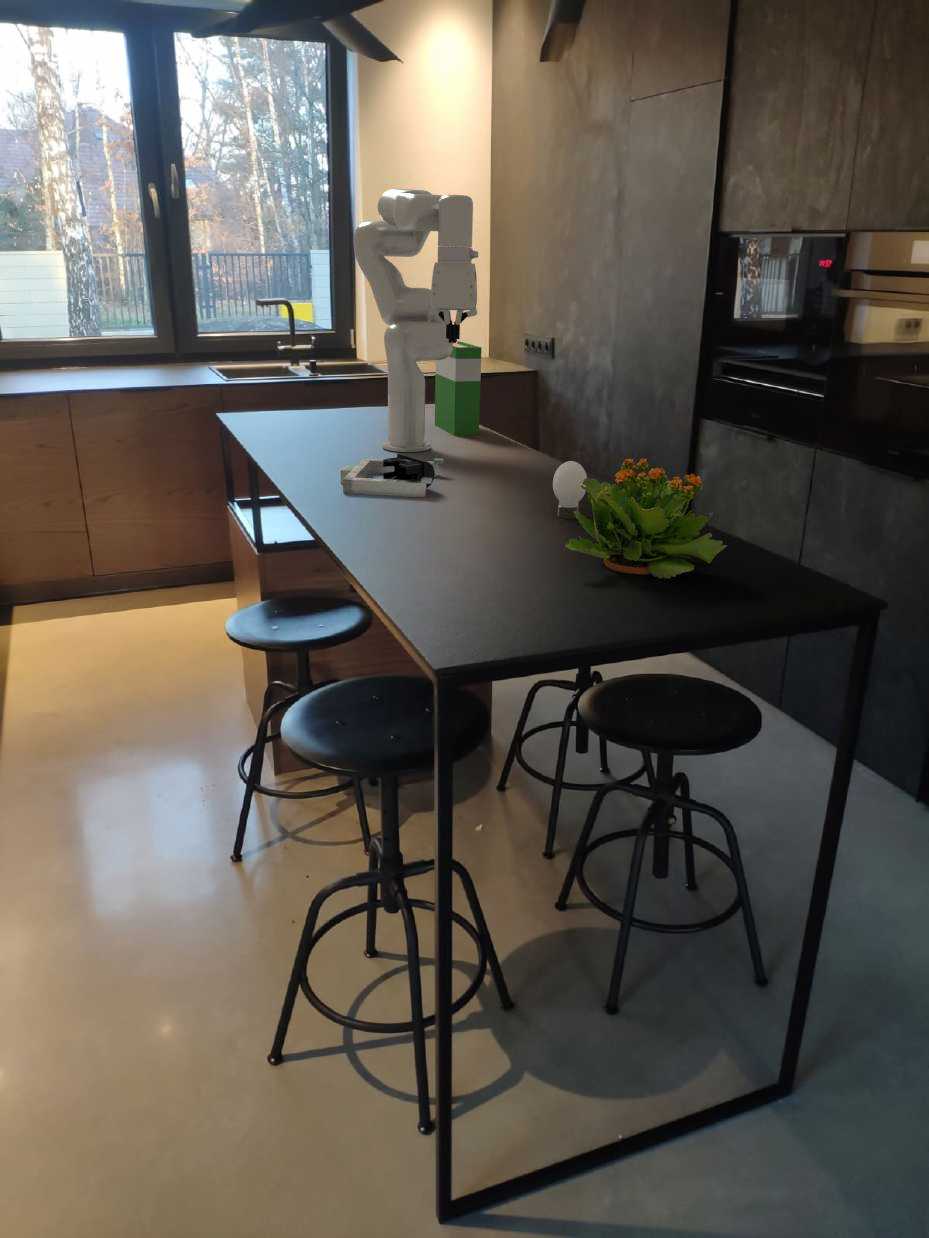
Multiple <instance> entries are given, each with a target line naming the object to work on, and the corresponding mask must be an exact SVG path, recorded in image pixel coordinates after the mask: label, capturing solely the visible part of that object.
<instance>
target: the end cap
mask: <svg viewBox="0 0 929 1238" xmlns="http://www.w3.org/2000/svg"><path fill="white" fill-rule="evenodd" d="M383 459H384V460H383V467H389V466H394V470H393V471H391V472H384V473H383V474H382V479H392V480H411V481H421V479H422V477H426V478H432V482H431V484H427V483H426V490H427V489H428V488H429V487H430V486H432V484H433V482H434V480H435V477H436V476H435V471H434V468H433V466H432V464H430V463H429V462H427V461H428V460H423V459H420V458H417V457H413V456H411V455H410V456H409V455H406V454H403V453H397V454H396V457H388V458H383Z"/></svg>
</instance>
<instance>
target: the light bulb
mask: <svg viewBox="0 0 929 1238" xmlns="http://www.w3.org/2000/svg"><path fill="white" fill-rule="evenodd" d="M586 478H588V476H587V473H586V470H585V469H584V467H583V466H582V465H581V464H580V463H579V462H576V461H574V460H568V461H565V462H563V463H562V464H560V465H559V466H558V467H557V469H556V471H555V472H554V475H553V478H552V479H553V480H552V489H553V492H554V496H555V497H556V499H557V500H558V506H557V517H558V518H563V519H577V518H576V515H575V514H574V512H573V511H577V512H579V502H580V501H582V499H583V498H584V497H585V496H584V495H585V494H586V491H585V490H584V489H583V488H582V487H581V485H583V486H584V487H585V486H586V485H584V484H583V481H584V479H586Z"/></svg>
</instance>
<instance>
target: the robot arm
mask: <svg viewBox="0 0 929 1238" xmlns="http://www.w3.org/2000/svg"><path fill="white" fill-rule="evenodd" d="M377 212H378V214H379V216H380V218H381V219H382V220H369V221H365V222H362V223H360V224H358V226H357V227H356V229H355V230H354V232H353V250H354V255H355V259H356V261H357V264H358V266H359V268H360V270H361V272H362V273H363V275H364V277H365V278H366V280H367V282H368V284H369V286H370V288H371V292H372V294H373V295H372V296H373V298H374V301H375V303H376V307H377V310H378V313H379V316H380V317H381V319H382V321H383V322H384V324H386V325H388V326H387V328H386V329H385V331H384V335H383V343H384V350H385V351H384V352H385V356H386V364H387V365H386V366H387V410H388V411H387V418H388V419H387V421H388V422H387V428H388V429H387V435H388V436H387V440H385V441H383V442H382V443H381V447H382V449H383V450H387V451H391V452H396V453H397V452H398V453H400V452H401V453H418V452H419V453H421V452H425V451H429V450H430V449H431V442H429V441H426V440H425V436H426V435H425V431H426V427H425V426H426V425H425V424H426V423H425V422H426V378H425V376H424V374H423V372H422V370H421V368H420V367H419V365H418V364H417V363H418V362H421V361H422V362H425V361H426V362H429V361H431V362H432V361H436V360H443V359H446V358H447V357H448V356H449V355H450V354H451V352H452V349H453V344H457V341H458V340H460V338H461V337H460V335H461V324H462V323H463V322H464V321H465V319H466V318H470V317H476V316H477V315H478V309H477V302H478V285H477V284H478V282H477V281H478V280H477V269H476V268H477V267H476V263H472V262H473V259H478V258H479V251H478V250H477V251H476V250H474V249H473V225H474V224H473V223H474V222H473V221H474V200H473V199H472V197H470V196H469V195H465V194H463V195H462V194H443V195H442V194H432V193H431V192H430V191H427V190H424V189H408V188H391V189H388V190H386V191H384V192H383V193H382V195H381V196H380V197H379V199H378V202H377ZM431 232H437V262H434V264H433V265H434V266H433V268H432V269H433V270H432V276H431V277H432V278H431V287H430V288H431V289H430V288H426V287H410V286H407V285H406V283H405V281H404V279H403V275H402V273H401V272H400V270H399V269H398V268H397V266H395V264H393V263H392V262H391V261H390V260H389V259H387V258H386V257H396V258H397V257H398V258H405V257H406V258H408V257H409V258H410V257H411V258H412V257H416V256H417V255H419V253H420V252H421V251H422V249H423V247H424V245H425V244H426V241H427V239H428V237H429V235H430V234H431ZM451 311H456V313H455V321H452V315H451Z"/></svg>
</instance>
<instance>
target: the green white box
mask: <svg viewBox="0 0 929 1238" xmlns="http://www.w3.org/2000/svg"><path fill="white" fill-rule="evenodd" d="M481 373H482V346H477V345H474V344H471V343H468V342H464V341H460V340H459V341H458V340H457V342H456V343H453V349H452V352H451V354H450V355H449V356H448V357H447V358H446V359H443V360H435V376H434V377H435V385H434V388H435V389H434V392H435V393H434V426H435V427H438V428H439V429H441V430H443V431H445V432H446V433H448V434H450V435H451V436H453V437H459V436H460V437H463V436H480V435H479V434H480V409H481V408H480V403H481V377H482V376H481V375H482V374H481Z"/></svg>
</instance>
